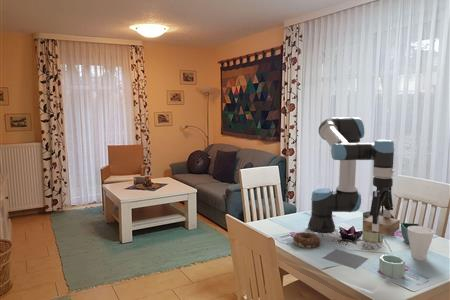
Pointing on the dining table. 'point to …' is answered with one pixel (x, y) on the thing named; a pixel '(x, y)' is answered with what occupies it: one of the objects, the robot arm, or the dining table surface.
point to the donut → (306, 240)
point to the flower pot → (404, 230)
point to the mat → (345, 258)
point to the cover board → (382, 225)
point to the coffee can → (369, 235)
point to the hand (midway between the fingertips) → (381, 227)
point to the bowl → (392, 266)
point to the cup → (419, 241)
